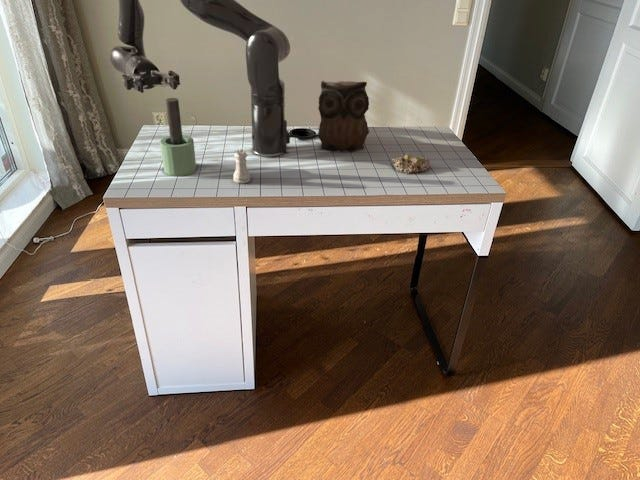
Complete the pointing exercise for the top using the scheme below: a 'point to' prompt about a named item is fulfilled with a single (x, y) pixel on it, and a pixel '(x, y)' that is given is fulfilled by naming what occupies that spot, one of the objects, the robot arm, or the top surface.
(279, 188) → the top surface
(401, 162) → the mineral rock
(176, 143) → the rod
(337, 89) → the owl
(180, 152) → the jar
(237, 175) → the rook chess piece
